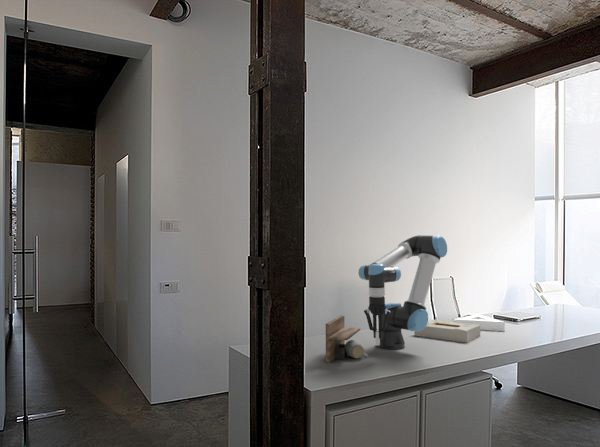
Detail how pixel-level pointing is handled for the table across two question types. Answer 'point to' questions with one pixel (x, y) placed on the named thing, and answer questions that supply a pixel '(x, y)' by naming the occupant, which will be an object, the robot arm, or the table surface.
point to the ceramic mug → (354, 349)
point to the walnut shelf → (337, 338)
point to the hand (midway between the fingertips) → (377, 344)
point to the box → (450, 331)
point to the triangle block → (483, 322)
